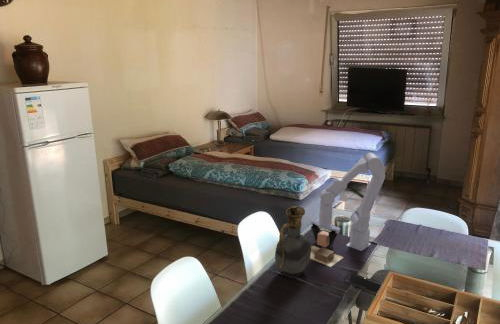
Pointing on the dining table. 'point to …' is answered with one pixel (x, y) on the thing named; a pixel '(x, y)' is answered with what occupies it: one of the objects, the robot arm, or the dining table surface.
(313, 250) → the board
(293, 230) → the pitcher
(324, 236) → the top block
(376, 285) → the phone
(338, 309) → the dining table surface
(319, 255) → the base block
